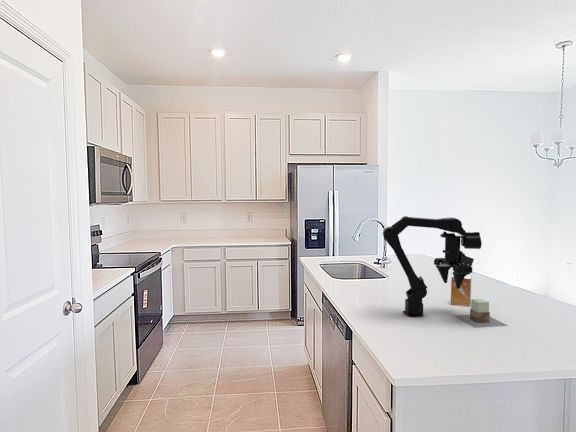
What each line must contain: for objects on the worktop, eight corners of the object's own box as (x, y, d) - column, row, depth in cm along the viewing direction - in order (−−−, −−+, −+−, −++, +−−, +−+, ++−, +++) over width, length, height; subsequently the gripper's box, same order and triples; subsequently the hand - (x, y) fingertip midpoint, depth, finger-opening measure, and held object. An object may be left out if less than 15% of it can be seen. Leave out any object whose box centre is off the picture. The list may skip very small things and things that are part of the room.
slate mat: (474, 328, 140) (474, 327, 140) (453, 316, 154) (453, 315, 154) (508, 326, 142) (508, 325, 142) (484, 314, 156) (484, 313, 156)
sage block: (478, 312, 145) (478, 302, 145) (471, 309, 149) (471, 299, 149) (488, 312, 146) (489, 302, 145) (481, 308, 150) (481, 298, 150)
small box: (450, 304, 170) (451, 276, 169) (452, 301, 175) (452, 274, 174) (470, 307, 166) (470, 278, 165) (471, 303, 171) (471, 275, 170)
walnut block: (477, 322, 145) (478, 312, 145) (469, 318, 150) (470, 308, 150) (489, 322, 146) (489, 312, 145) (481, 317, 150) (481, 308, 150)
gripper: (485, 251, 144) (484, 290, 145) (457, 244, 162) (456, 279, 163) (458, 252, 142) (458, 292, 143) (433, 245, 161) (432, 280, 162)
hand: (451, 285), depth 153 cm, fingers open, 9 cm apart
